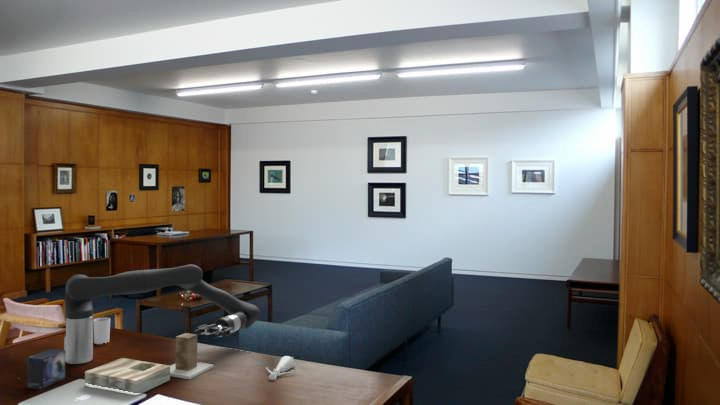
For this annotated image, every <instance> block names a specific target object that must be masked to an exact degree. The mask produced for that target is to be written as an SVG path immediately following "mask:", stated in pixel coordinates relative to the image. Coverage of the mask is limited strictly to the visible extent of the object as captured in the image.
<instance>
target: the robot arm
mask: <svg viewBox="0 0 720 405" xmlns="http://www.w3.org/2000/svg"><path fill="white" fill-rule="evenodd" d="M203 276H204V272H203V270H202V268H201V267H200V266H198V265H196V264H185V265H181V266H175V267H169V268H153V269H139V270H131V271H124V272H121V273H117V274H115V275H110V276H103V277H102V276H99V277H97V276H96V277H94V276H93V277H92V276H91V277H89V276H87V275H85V274H81V273H79V274H74V275H72V276H71V277H70V278H68V279H67V281H66V282H65V289H64V290H65V293H64V294H65V295H64V296H65V298H64V299H65V336H64V338H63V350H66V353H65V364H69V365H79V364H80V365H81V364H85V363H89V362H91V361H93V359H94V354H93V353H94V321H93V320H94V308H93V307H94V306H93V299H95V298H100V297H104V296H117V295H118V296H120V295H131V294H132V295H133V294H141V293H149V292H152V291H156V290H160V289H163V288H165V287H170V286H180V287H181V288H182V289H185V290H187V291H188V292H192V293H194V294H197V295H198V296H200V297H202V298H204V299H205V300H208V301H209V302H211V303H213V304H215V305H216V306H218V307H219V308H221V309H222V310H224V311H225V312H226V313H228V314H229V315H226V316H222V317H220V318H218V319H216V320H215V321H214V323H213V324H209V325H208V324H207V323H205V324H202V325H198V326H196V327H195V330H194V331H192V334H197V337H199V336H200V335H205V336H208V335H211V339H212V340H215V339H217V338H227V337H229V336H231V335H233V334H234V333H235V332H237V331H238V330H242V329H243V330H244V329H249V328H251V327H252V326H253V324H254V323H255V322H256V321H257V320H258V319H259V318H260V317H261V310H260V308H258V306H257V305H255V304H252V303H249V302H246V301H243V300H240V299H239V298H237V297H236V296H234V295H232V294H231V293H229V292H227V291H226V290H223V289H221V288H217V287H215V286H213V285H210V284H209V283H207V282H206V281H204V280H203Z"/></svg>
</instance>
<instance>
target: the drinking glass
mask: <svg viewBox="0 0 720 405" xmlns="http://www.w3.org/2000/svg"><path fill="white" fill-rule="evenodd" d="M110 332H111V317H98V318H93V344H96V345H103V343H105V344H107V342H108V343H110V336H111V335H110V334H111V333H110Z"/></svg>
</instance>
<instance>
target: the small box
mask: <svg viewBox="0 0 720 405" xmlns="http://www.w3.org/2000/svg"><path fill="white" fill-rule="evenodd" d="M65 353H66V350H64V349H56V348H49V349H46V350H43V351H40V352H38V353H35V354H32V355H30V356H27V365H26V366H27V368H26V369H27V370H26V373H27V374H26V377H27V378H26V388H27V389H36V390H44V389H46V388H48V387H50V386H52V385H55V384H57V383H60V382H62V381H64V380H66V361H65Z"/></svg>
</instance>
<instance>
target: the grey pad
mask: <svg viewBox="0 0 720 405" xmlns="http://www.w3.org/2000/svg"><path fill="white" fill-rule="evenodd" d="M169 366H170V377H172V378H173V377H174V378H179V379H180V378H181V379H185V380H191V379H194V378H195V377H198V376H199V375H201V374H204V373H205V372H208V371H209V370H211V369H213V368H214V367H215V364H212V363H207V362H201V361H197V367H195V368H193V369H191V370H189V371H185V370H178V369H176V362H175V363H173V364H170V365H169Z"/></svg>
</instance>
